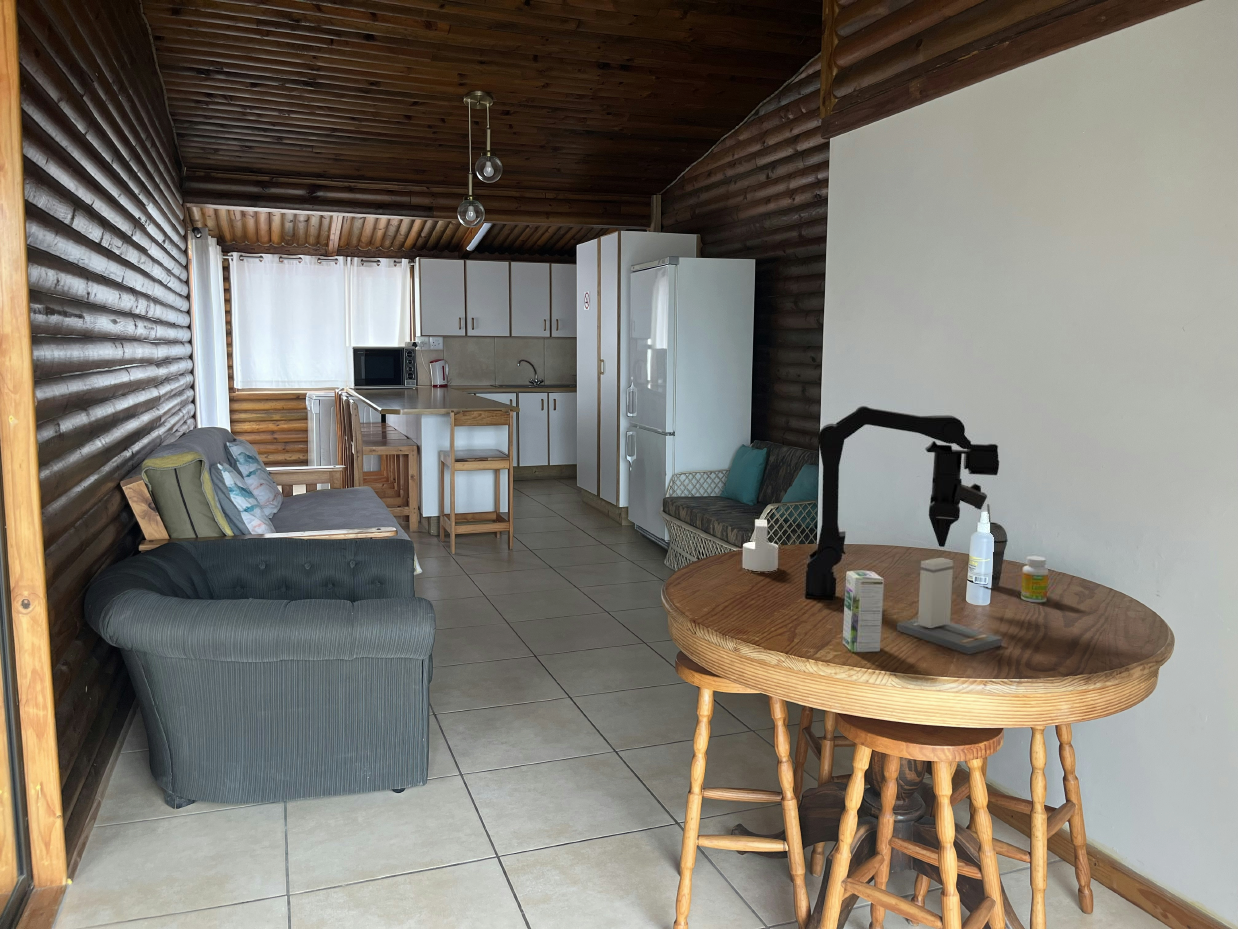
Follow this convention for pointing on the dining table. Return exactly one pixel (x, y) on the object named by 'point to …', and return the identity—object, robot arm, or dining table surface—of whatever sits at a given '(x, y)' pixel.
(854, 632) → the syrup box
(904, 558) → the dining table surface
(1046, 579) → the supplement bottle
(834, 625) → the dining table surface
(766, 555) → the base with upright slab
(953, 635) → the fader console
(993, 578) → the beverage cup
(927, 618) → the fader knob
